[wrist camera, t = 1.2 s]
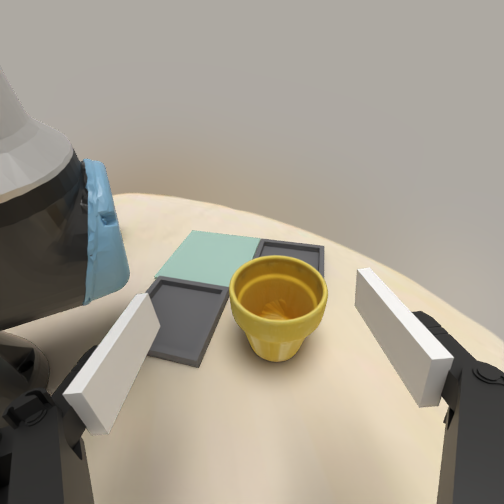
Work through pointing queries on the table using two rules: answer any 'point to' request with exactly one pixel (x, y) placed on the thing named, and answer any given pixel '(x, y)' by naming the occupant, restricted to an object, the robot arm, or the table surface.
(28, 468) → the robot arm
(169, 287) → the tray
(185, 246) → the pad
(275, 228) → the table surface
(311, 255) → the tray
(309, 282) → the plant pot
